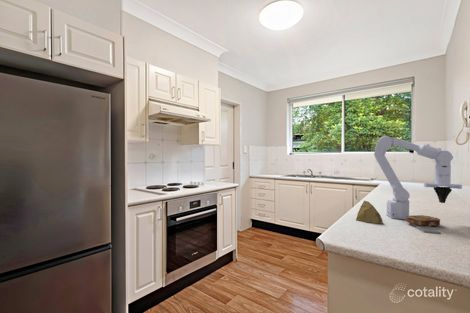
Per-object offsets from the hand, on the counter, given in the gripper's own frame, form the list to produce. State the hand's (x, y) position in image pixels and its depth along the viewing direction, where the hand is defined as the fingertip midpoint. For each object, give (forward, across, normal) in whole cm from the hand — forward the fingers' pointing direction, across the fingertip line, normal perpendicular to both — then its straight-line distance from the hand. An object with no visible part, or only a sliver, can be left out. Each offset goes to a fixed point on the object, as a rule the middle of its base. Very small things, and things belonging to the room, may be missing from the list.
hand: (442, 202), depth 112 cm
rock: (+10, -34, -10) cm, 37 cm away
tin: (+8, -9, -11) cm, 16 cm away
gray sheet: (+10, -13, -12) cm, 21 cm away
